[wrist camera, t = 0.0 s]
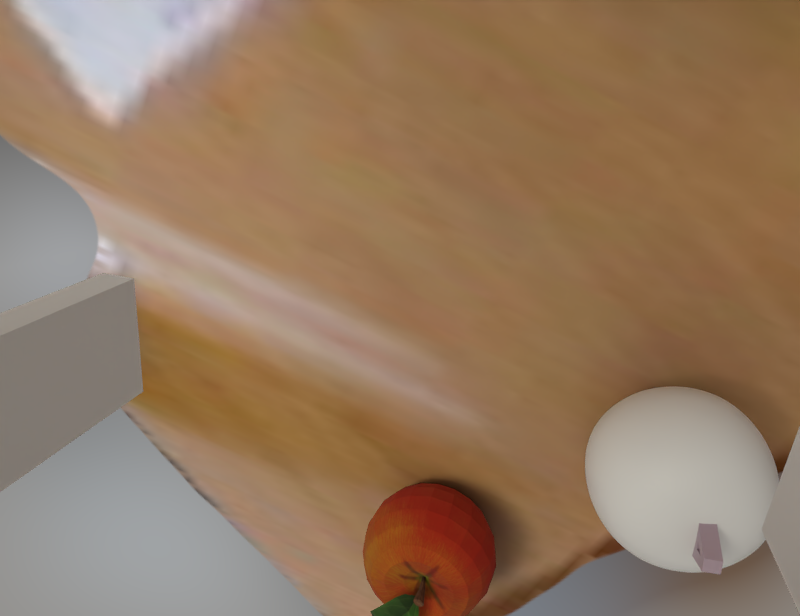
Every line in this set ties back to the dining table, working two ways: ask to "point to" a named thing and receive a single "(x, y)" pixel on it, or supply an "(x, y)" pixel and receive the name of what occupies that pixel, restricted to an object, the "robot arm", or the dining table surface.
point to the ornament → (681, 479)
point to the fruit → (428, 553)
